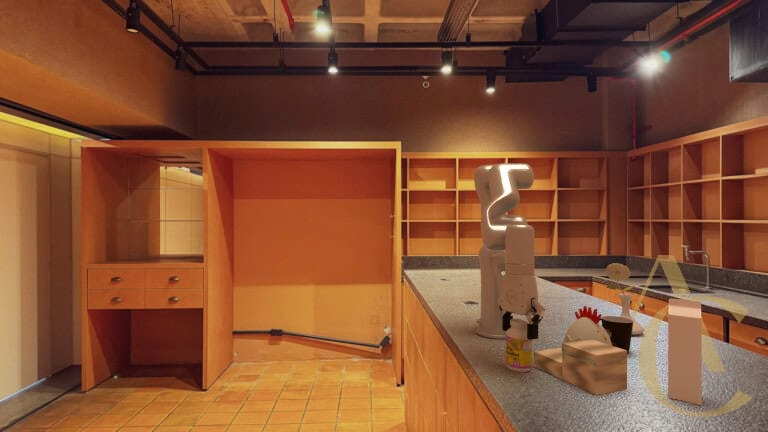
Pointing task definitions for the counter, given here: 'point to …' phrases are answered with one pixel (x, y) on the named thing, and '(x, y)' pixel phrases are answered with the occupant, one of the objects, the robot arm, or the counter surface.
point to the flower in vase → (619, 274)
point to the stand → (586, 365)
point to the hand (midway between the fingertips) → (519, 334)
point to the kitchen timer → (587, 328)
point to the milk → (685, 350)
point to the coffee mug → (618, 331)
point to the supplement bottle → (518, 346)
